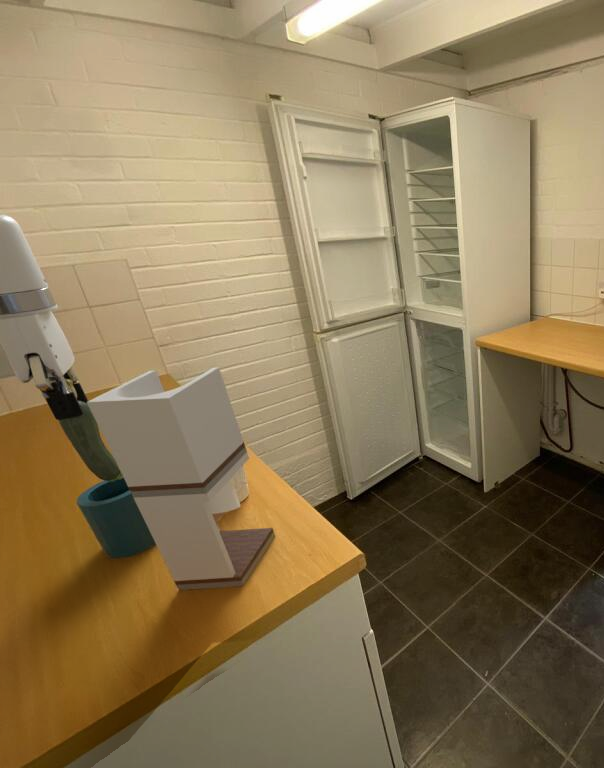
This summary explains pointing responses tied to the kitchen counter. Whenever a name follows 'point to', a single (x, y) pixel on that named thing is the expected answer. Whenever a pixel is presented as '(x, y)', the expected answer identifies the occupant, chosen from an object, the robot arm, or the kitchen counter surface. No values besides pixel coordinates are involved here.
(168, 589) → the kitchen counter surface
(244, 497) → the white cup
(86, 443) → the vegetable
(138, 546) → the jar
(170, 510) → the white coffee maker
